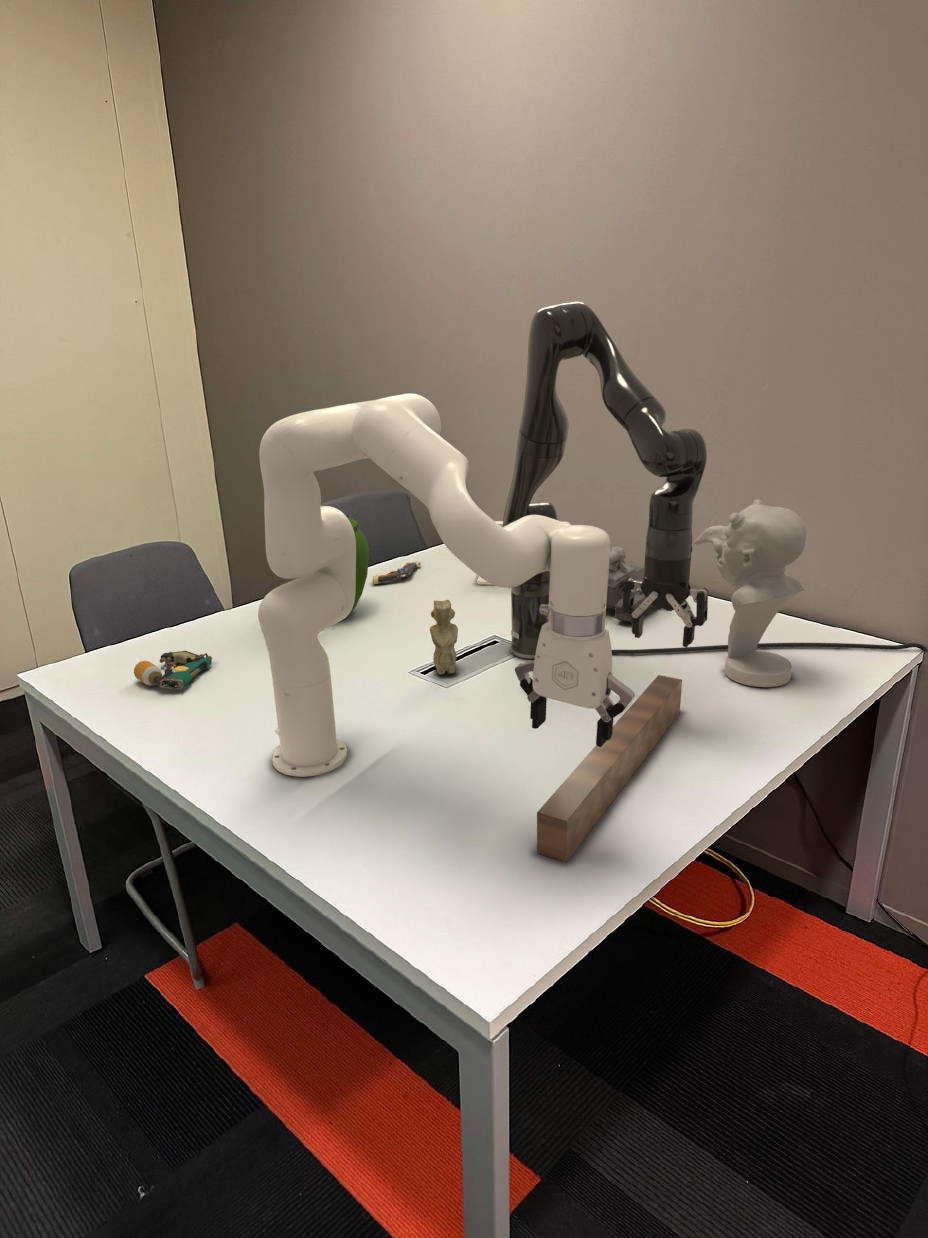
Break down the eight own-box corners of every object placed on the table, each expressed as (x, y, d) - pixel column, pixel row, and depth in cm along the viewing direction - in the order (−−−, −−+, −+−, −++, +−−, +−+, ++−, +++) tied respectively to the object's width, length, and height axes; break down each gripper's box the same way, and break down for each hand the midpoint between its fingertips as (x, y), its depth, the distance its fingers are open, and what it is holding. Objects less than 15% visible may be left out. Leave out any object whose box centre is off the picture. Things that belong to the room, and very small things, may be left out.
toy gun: (370, 576, 233) (405, 573, 231) (388, 561, 251) (421, 558, 249) (371, 586, 234) (406, 583, 232) (389, 570, 252) (422, 567, 250)
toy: (603, 584, 229) (605, 530, 224) (673, 597, 218) (677, 540, 213) (555, 612, 210) (556, 553, 205) (630, 627, 199) (633, 566, 194)
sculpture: (458, 662, 183) (456, 596, 178) (460, 676, 176) (457, 608, 171) (431, 663, 183) (428, 597, 177) (431, 677, 176) (428, 609, 171)
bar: (656, 707, 161) (658, 674, 159) (680, 712, 159) (682, 679, 156) (536, 853, 120) (536, 812, 118) (566, 862, 118) (566, 821, 115)
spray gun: (177, 659, 191) (231, 671, 185) (120, 684, 176) (176, 698, 171) (176, 641, 190) (230, 653, 184) (118, 665, 175) (174, 678, 169)
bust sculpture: (725, 639, 191) (739, 484, 178) (813, 678, 171) (835, 506, 158) (670, 654, 184) (680, 494, 171) (754, 696, 164) (772, 518, 151)
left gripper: (505, 616, 114) (502, 729, 120) (628, 642, 106) (618, 762, 112) (530, 599, 120) (526, 707, 126) (649, 623, 112) (638, 738, 118)
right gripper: (619, 552, 143) (615, 641, 149) (704, 563, 136) (696, 656, 142) (634, 540, 149) (630, 626, 155) (717, 551, 142) (709, 640, 148)
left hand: (570, 733), depth 119 cm, fingers open, 9 cm apart
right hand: (662, 640), depth 148 cm, fingers open, 8 cm apart
